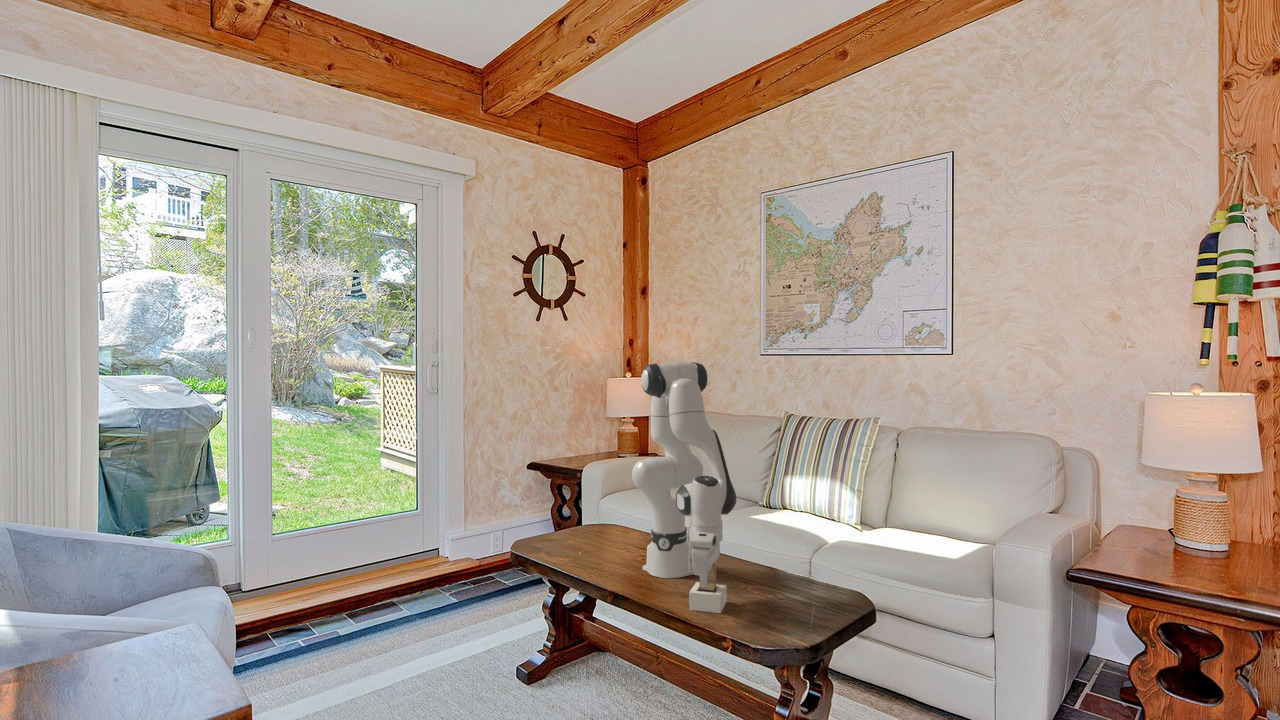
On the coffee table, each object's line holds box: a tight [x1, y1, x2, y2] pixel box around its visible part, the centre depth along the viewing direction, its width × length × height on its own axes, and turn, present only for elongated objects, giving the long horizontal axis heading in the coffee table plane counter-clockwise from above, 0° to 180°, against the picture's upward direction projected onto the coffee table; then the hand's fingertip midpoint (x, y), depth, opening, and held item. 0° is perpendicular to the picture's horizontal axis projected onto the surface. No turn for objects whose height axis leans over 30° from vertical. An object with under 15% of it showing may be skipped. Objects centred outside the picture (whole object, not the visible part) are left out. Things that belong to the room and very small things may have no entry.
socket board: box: [688, 581, 727, 614], centre depth 184 cm, size 9×9×5 cm
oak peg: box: [699, 560, 717, 593], centre depth 185 cm, size 4×4×12 cm
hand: (707, 581), depth 185 cm, fingers open, 8 cm apart
